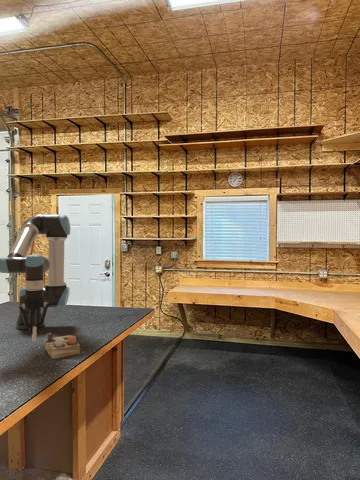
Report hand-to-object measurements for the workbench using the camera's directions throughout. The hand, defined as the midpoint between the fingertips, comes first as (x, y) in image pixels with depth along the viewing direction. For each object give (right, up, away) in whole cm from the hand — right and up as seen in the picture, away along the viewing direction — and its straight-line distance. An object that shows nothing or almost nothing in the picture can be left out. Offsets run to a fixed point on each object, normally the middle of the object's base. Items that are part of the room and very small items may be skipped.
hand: (34, 340), depth 144 cm
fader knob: (+6, -1, +4) cm, 7 cm away
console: (+11, -6, +3) cm, 13 cm away
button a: (+17, -2, +2) cm, 17 cm away
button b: (+12, -2, -1) cm, 12 cm away
